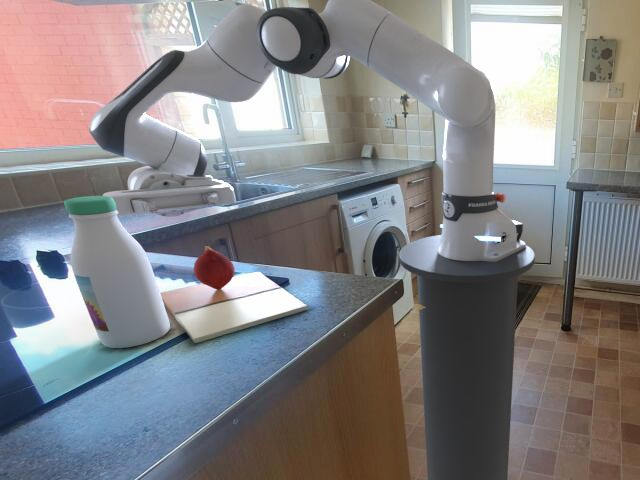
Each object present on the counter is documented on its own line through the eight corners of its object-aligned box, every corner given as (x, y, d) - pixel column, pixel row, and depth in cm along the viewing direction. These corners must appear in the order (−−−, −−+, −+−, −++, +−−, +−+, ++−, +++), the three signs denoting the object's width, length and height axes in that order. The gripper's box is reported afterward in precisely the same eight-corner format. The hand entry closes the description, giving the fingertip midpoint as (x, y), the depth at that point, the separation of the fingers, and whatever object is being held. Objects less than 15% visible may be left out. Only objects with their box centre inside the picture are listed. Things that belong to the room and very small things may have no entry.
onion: (243, 282, 77) (233, 241, 74) (232, 294, 72) (221, 251, 69) (207, 284, 76) (196, 242, 72) (193, 296, 70) (181, 252, 67)
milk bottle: (178, 320, 64) (139, 192, 56) (160, 344, 58) (112, 203, 50) (116, 327, 61) (65, 193, 54) (90, 353, 55) (27, 205, 47)
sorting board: (259, 275, 83) (258, 270, 82) (308, 309, 69) (307, 305, 69) (159, 297, 71) (157, 292, 71) (194, 343, 58) (193, 338, 58)
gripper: (90, 183, 76) (101, 194, 67) (218, 174, 90) (240, 182, 82) (102, 216, 78) (114, 231, 70) (225, 203, 92) (247, 213, 84)
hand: (183, 205), depth 76 cm, fingers open, 8 cm apart
